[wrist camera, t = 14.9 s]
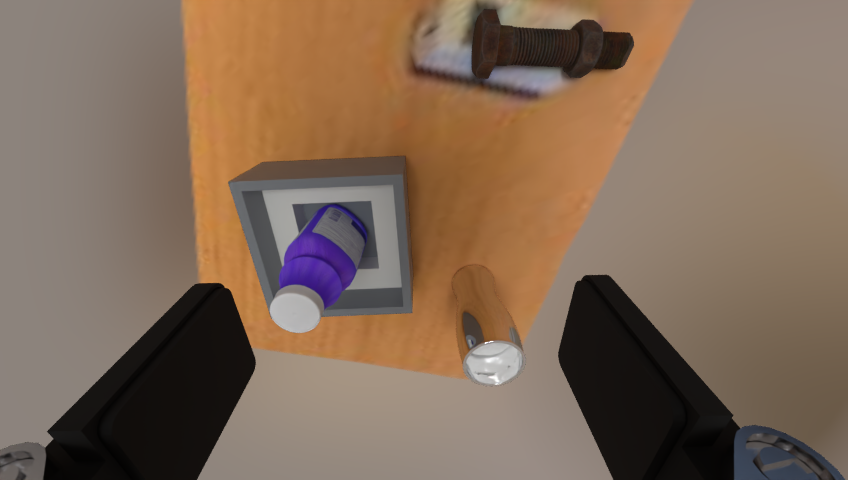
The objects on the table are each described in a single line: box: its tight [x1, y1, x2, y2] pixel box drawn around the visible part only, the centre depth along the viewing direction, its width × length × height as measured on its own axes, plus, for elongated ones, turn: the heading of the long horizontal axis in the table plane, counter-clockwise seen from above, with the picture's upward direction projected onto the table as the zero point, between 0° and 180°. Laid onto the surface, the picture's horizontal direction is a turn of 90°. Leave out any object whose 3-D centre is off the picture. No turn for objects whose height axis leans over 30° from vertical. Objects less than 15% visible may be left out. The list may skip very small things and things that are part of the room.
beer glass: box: [452, 265, 526, 386], centre depth 41 cm, size 7×7×15 cm
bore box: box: [228, 156, 413, 319], centre depth 40 cm, size 17×17×8 cm
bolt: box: [472, 9, 634, 79], centre depth 33 cm, size 6×5×15 cm
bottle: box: [270, 204, 367, 333], centre depth 34 cm, size 7×6×17 cm
